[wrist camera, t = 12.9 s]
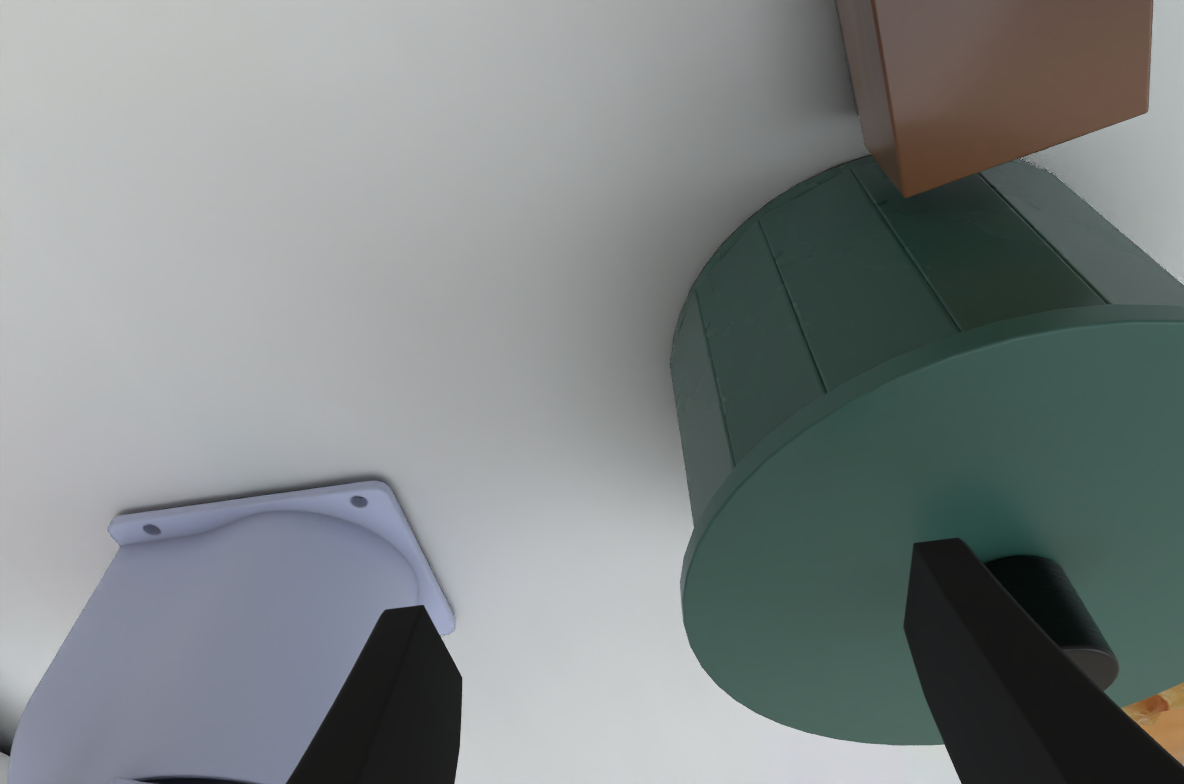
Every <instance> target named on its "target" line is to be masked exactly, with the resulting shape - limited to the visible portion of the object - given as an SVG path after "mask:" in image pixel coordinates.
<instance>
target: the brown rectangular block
mask: <svg viewBox="0 0 1184 784" xmlns="http://www.w3.org/2000/svg"><path fill="white" fill-rule="evenodd" d="M835 3H836V9H837V14H838V19H839V24H840V29H841V34H842V39H843V45H844V50H845V55H846V60H847V65H848V70H849V75H850V81H851V86H852V91H853V96H854V101H855V106H856V111H857V114H858V116H859V118H860V123H861V128H862V133H863V139H864V144H865V147H866V148H867V149H868V151H869V152H870V153H871V155H872V156H873V157H874V159H875V160H876V161H877V163H878V164H879V165H880V167H881V168H882V169H883V170H884V172H885V173H886V174H887V176H888V177H889V178H890V180H891V181H892V182H893V184H894V185H895V186H896V188H897V189H898V190H899V192H900V193H901V194H902V196H903V197H904V198H908V197H911V196H914V195H917V194H920V193H922V192H925V191H928V190H931V189H934V188H937V187H939V186H942V185H945V184H948V183H951V182H953V181H956V180H959V179H962V178H965V177H968V176H970V175H973V174H976V173H979V172H982V171H984V170H987V169H990V168H993V167H996V166H998V165H1001V164H1004V163H1007V162H1010V161H1013V160H1015V159H1018V158H1021V157H1024V156H1027V155H1029V154H1032V153H1035V152H1038V151H1041V150H1044V149H1046V148H1049V147H1052V146H1055V145H1058V144H1060V143H1063V142H1066V141H1069V140H1072V139H1075V138H1077V137H1080V136H1083V135H1086V134H1089V133H1091V132H1094V131H1097V130H1100V129H1103V128H1105V127H1108V126H1111V125H1114V124H1117V123H1120V122H1122V121H1125V120H1128V119H1131V118H1134V117H1136V116H1139V115H1142V114H1145V113H1147V112H1148V106H1149V84H1150V62H1151V40H1152V18H1153V0H835Z"/></svg>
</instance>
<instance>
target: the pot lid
mask: <svg viewBox="0 0 1184 784" xmlns="http://www.w3.org/2000/svg"><path fill="white" fill-rule="evenodd" d="M957 537H958V538H960V539H961V540H963V541H964V542H966V544H967V545H968V546H969V547H970V548H971V550H972V551H973V552H974V553H975V554H976V555H977V557H978V558H979V559H980V560H981V561H982V562H983V564H984V565H985V566H986V567H987V568H988V570H989V571H990V572H991V573H992V574H993V575H994V576H995V578H996V579H997V580H998V581H999V582H1000V583H1001V584H1002V586H1003V587H1004V588H1005V589H1006V590H1007V591H1008V592H1009V593H1010V595H1011V596H1012V597H1013V598H1014V599H1015V600H1016V601H1017V602H1018V603H1019V604H1020V606H1021V607H1022V608H1023V609H1024V610H1025V611H1026V612H1027V613H1028V614H1029V615H1030V616H1031V618H1032V619H1033V620H1034V621H1035V622H1036V623H1037V624H1038V625H1039V626H1040V627H1041V628H1042V629H1043V630H1044V632H1045V633H1046V634H1047V635H1048V636H1049V637H1050V638H1051V639H1052V640H1053V641H1054V642H1055V643H1056V644H1057V645H1058V646H1059V647H1060V648H1061V649H1062V650H1063V651H1064V652H1065V653H1066V654H1067V655H1068V656H1069V657H1070V658H1071V659H1072V660H1073V661H1074V662H1075V663H1076V664H1077V665H1078V666H1079V667H1080V668H1081V670H1082V671H1083V672H1084V673H1085V674H1086V675H1087V676H1088V677H1089V678H1090V679H1091V680H1092V681H1093V682H1094V683H1095V684H1096V685H1097V686H1098V687H1099V688H1100V689H1101V690H1102V691H1103V692H1104V693H1105V694H1106V695H1108V696H1109V697H1110V698H1111V699H1112V700H1113V701H1114V702H1115V703H1116V704H1117V705H1118V706H1119V707H1120V708H1122V707H1125V706H1128V705H1131V704H1133V703H1136V702H1139V701H1142V700H1144V699H1146V698H1149V697H1151V696H1154V695H1156V694H1158V693H1161V692H1163V691H1165V690H1168V689H1170V688H1172V687H1175V686H1177V685H1179V684H1181V683H1183V682H1184V307H1182V306H1175V305H1156V304H1109V305H1099V306H1089V307H1078V308H1068V309H1058V310H1052V311H1047V312H1042V313H1037V314H1032V315H1027V316H1022V317H1017V318H1012V319H1007V320H1002V321H998V322H994V323H991V324H987V325H984V326H981V327H977V328H974V329H971V330H967V331H964V332H960V333H957V334H954V335H950V336H947V337H944V338H941V339H938V340H936V341H933V342H931V343H928V344H926V345H923V346H921V347H918V348H916V349H913V350H911V351H908V352H906V353H903V354H901V355H898V356H896V357H893V358H891V359H889V360H887V361H885V362H883V363H881V364H879V365H877V366H875V367H873V368H871V369H869V370H867V371H865V372H863V373H861V374H859V375H857V376H855V377H853V378H851V379H849V380H848V381H846V382H844V383H842V384H840V385H839V386H837V387H835V388H834V389H832V390H831V391H829V392H828V393H826V394H824V395H823V396H821V397H820V398H818V399H817V400H815V401H813V402H812V403H810V404H809V405H807V406H806V407H804V408H802V409H801V410H799V411H798V412H797V413H795V414H794V415H793V416H792V417H790V418H789V419H788V420H787V421H785V422H784V423H783V424H782V425H780V426H779V427H778V428H777V429H775V430H774V431H773V432H772V433H770V434H769V435H768V436H767V437H765V438H764V439H763V440H762V441H761V442H760V443H759V444H758V445H757V446H756V447H755V448H754V449H753V450H752V451H751V452H750V453H749V454H748V455H747V456H746V457H745V458H744V459H743V460H742V461H741V462H740V463H739V464H738V465H737V466H736V467H735V468H734V469H733V470H732V471H731V473H730V474H729V475H728V477H727V478H726V479H725V480H724V482H723V483H722V484H721V486H720V487H719V488H718V490H717V491H716V492H715V493H714V495H713V496H712V497H711V499H710V500H709V502H708V504H707V506H706V508H705V509H704V511H703V513H702V515H701V517H700V518H699V520H698V522H697V524H696V526H695V527H694V530H693V533H692V535H691V538H690V541H689V544H688V547H687V550H686V553H685V555H684V560H683V567H682V574H681V580H680V590H681V605H682V614H683V623H684V627H685V630H686V633H687V637H688V640H689V644H690V646H691V648H692V650H693V652H694V654H695V656H696V657H697V659H698V661H699V663H700V665H701V666H702V668H703V669H704V670H705V671H706V672H707V674H708V675H709V676H710V677H711V678H712V680H713V681H714V682H715V683H716V684H717V685H718V686H719V687H720V688H721V689H723V690H724V691H725V692H726V693H727V694H729V695H730V696H731V697H732V698H733V699H735V700H736V701H738V702H739V703H741V704H742V705H744V706H746V707H747V708H749V709H751V710H752V711H754V712H756V713H757V714H760V715H762V716H764V717H766V718H769V719H771V720H773V721H775V722H777V723H780V724H782V725H785V726H789V727H792V728H795V729H798V730H801V731H804V732H807V733H811V734H816V735H820V736H825V737H829V738H834V739H839V740H847V741H854V742H861V743H871V744H886V745H942V744H944V742H943V739H942V737H941V735H940V732H939V730H938V728H937V725H936V723H935V721H934V718H933V716H932V713H931V711H930V709H929V706H928V704H927V701H926V699H925V696H924V693H923V690H922V687H921V684H920V681H919V678H918V674H917V671H916V668H915V665H914V661H913V658H912V655H911V651H910V648H909V645H908V641H907V638H906V635H905V631H904V628H903V625H904V617H905V609H906V601H907V593H908V584H909V576H910V568H911V560H912V552H913V544H914V543H918V542H926V541H934V540H941V539H949V538H957Z"/></svg>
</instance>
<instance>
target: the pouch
mask: <svg viewBox="0 0 1184 784" xmlns="http://www.w3.org/2000/svg"><path fill="white" fill-rule="evenodd" d="M9 760H10V756H8V755H6V754H4V753H2V752H0V784H8V769H9Z"/></svg>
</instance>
